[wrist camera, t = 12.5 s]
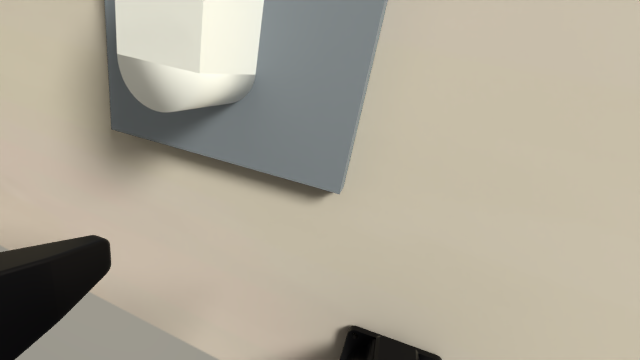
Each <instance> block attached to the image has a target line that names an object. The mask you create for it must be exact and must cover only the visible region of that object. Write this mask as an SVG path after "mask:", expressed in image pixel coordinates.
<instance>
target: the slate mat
mask: <svg viewBox="0 0 640 360" xmlns="http://www.w3.org/2000/svg"><path fill="white" fill-rule="evenodd" d="M104 1H105V19H106V38H107V56H108V74H109V92H110V110H111V129H112V130H116V131H119V132H123V133H126V134H130V135H133V136H137V137H140V138H144V139H147V140H151V141H154V142H158V143H161V144H165V145H168V146H172V147H175V148H179V149H182V150H186V151H189V152H193V153H196V154H200V155H203V156H207V157H211V158H214V159H218V160H221V161H225V162H228V163H232V164H235V165H239V166H242V167H246V168H249V169H253V170H256V171H260V172H263V173H267V174H270V175H274V176H277V177H281V178H284V179H288V180H291V181H295V182H298V183H302V184H305V185H309V186H312V187H316V188H319V189H323V190H326V191H330V192H333V193H337V194H340V192H341V191H342V189H343V187H344V182H345V178H346V174H347V170H348V165H349V161H350V157H351V153H352V149H353V144H354V140H355V136H356V132H357V127H358V123H359V119H360V115H361V111H362V106H363V102H364V98H365V94H366V90H367V85H368V81H369V77H370V73H371V68H372V64H373V60H374V56H375V52H376V47H377V43H378V39H379V35H380V31H381V26H382V22H383V18H384V14H385V9H386V5H387V1H388V0H264V5H263V13H262V22H261V31H260V39H259V48H258V57H257V66H256V74H255V80H254V83H253V86H252V88H251V90H250V91H249V93H248V94H247V95H246V96H245V97H244V98H243V99H241V100H239V101H237V102H235V103H230V104H223V105H216V106H209V107H202V108H195V109H189V110H182V111H175V112H158V111H155V110H152V109H150V108H148V107H146V106H145V105H143V104H142V103H141V102H139V101H138V100H137V99H136V98H135V97H134V96H133V94H132V93H131V92H130V91H129V89H128V87H127V86H126V84H125V82H124V80H123V78H122V75H121V72H120V69H119V65H118V58H117V39H116V13H115V0H104Z"/></svg>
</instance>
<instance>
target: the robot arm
mask: <svg viewBox="0 0 640 360" xmlns="http://www.w3.org/2000/svg"><path fill="white" fill-rule="evenodd" d="M110 267H111V253H110V243H109V241H108V240H107V239H105V238H102V237H99V236H96V235H90V236H85V237H79V238H74V239H69V240H63V241H58V242H53V243H47V244H42V245H37V246H31V247H26V248H21V249H15V250H10V251H5V252H0V360H15V359H16V358H17V357H18V356H19V355H20V354H22V353H23V352H24V351H25V350H26V349H28V348H29V347H30V346H31V345H32V344H33V343H34V342H35V341H37V340H38V339H39V338H40V337H41V336H43V334H45V333H46V332H47V331H48V330H50V329H51V328H52V327H53V326H54V325H55V324H56V323H57V322H58V321H60V320H61V319H62V318H63V317H64V316H65V315H66V314H67V313H68V312H69V311H70V310H71V309H72V308H73V307H74V306H75V305H76V304H77V303H78V302H79V301H80V300H81V299H82V298H83V297H84V296H85V295H86V294H87V293H88V292H89V291H90V290H91V289H92V288H93V287H94V286H95V285H96V284H97V283H98V282H99V281H100V280H101V279H102V278H103V277H104V276H105V275H106V274H107V272H108V271H109V269H110ZM353 333H356V334H357V335H356V334H353ZM340 360H442V359H441V358H440V357H439V356H437V355H435V354H432V353H429V352H427V351H424V350H421V349H418V348H416V347H413V346H410V345H407V344H405V343H402V342H399V341H396V340H394V339H391V338H388V337H385V336H382V335H380V334H377V333H374V332H371V331H369V330H366V329H363V328H360V327H358V326H352V327H350V328H349V331H348V334H347V337H346V341H345V344H344V347H343V351H342V354H341V357H340Z"/></svg>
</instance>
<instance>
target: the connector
mask: <svg viewBox="0 0 640 360" xmlns="http://www.w3.org/2000/svg"><path fill="white" fill-rule="evenodd" d="M263 5H264V0H115V13H116V39H117V58H118V65H119V69H120V72H121V75H122V78H123V80H124V82H125V84H126V86H127V87H128V89H129V91H130V92H131V93H132V94H133V96H134V97H135V98H136V99H137V100H138V101H139V102H141V103H142V104H143V105H145V106H146V107H148V108H150V109H152V110H155V111H158V112H175V111H182V110H189V109H195V108H202V107H209V106H216V105H223V104H230V103H235V102H237V101H239V100H241V99H243V98H244V97H245V96H246V95H247V94H248V93H249V91H250V90H251V88H252V86H253V83H254V80H255V74H256V66H257V57H258V48H259V39H260V31H261V22H262V13H263Z"/></svg>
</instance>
